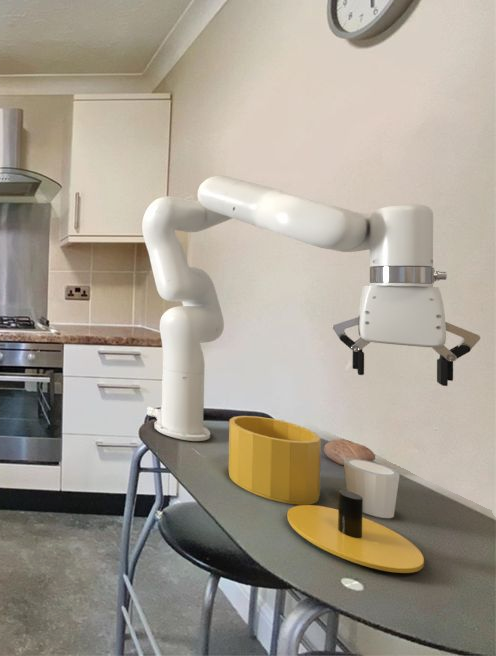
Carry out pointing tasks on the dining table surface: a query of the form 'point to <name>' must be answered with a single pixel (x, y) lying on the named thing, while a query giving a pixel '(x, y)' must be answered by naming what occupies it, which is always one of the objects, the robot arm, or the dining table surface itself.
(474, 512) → the dining table surface
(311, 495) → the tin
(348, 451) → the bread roll
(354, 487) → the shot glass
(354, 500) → the lid
